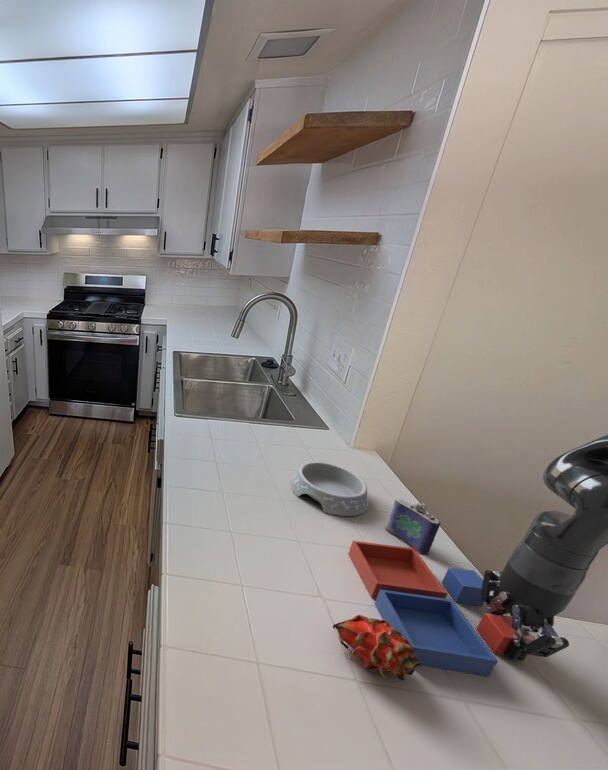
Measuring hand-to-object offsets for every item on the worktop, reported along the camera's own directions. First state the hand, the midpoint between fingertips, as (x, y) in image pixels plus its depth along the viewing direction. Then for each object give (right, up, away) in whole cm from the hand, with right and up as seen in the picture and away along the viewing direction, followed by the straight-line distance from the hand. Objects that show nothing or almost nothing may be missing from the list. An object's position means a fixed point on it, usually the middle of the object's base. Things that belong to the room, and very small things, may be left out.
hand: (499, 642), depth 68 cm
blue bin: (-12, 0, +1) cm, 12 cm away
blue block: (+2, +3, +9) cm, 10 cm away
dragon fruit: (-25, -2, -2) cm, 25 cm away
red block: (0, 0, 0) cm, 0 cm away
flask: (+1, +9, +22) cm, 24 cm away
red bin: (-10, +5, +13) cm, 17 cm away
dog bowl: (-8, +15, +38) cm, 42 cm away
